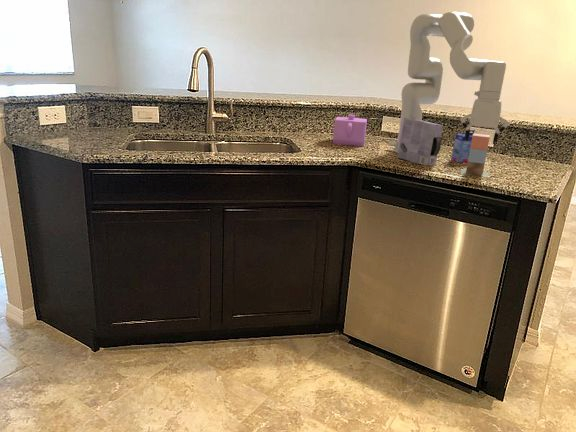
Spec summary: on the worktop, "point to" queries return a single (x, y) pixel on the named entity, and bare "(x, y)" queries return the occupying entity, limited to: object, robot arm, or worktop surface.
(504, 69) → the robot arm
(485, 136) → the block red
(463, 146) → the ink cartridge box
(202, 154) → the worktop surface
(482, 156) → the block blue
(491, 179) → the worktop surface
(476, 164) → the block walnut
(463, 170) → the baseplate
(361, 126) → the teapot
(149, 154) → the worktop surface
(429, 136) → the cake pan box
